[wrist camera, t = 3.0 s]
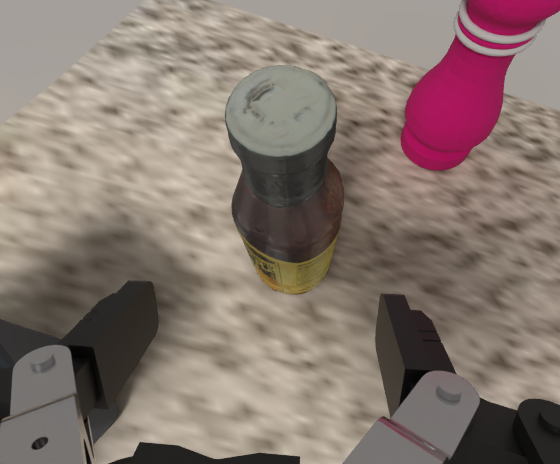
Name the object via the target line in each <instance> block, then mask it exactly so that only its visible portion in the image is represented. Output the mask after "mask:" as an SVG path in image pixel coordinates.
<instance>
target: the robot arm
mask: <svg viewBox="0 0 560 464" xmlns="http://www.w3.org/2000/svg"><path fill="white" fill-rule="evenodd" d="M157 329H158V312H157V305H156V299H155V292H154V286H153V284H152V282H150V281H131V280H130V281H128V282H127V283H126V284H125V285H124V286H123V287H122V288H121V289H120V290H119V291H118V292H117V293H116V294H115V293H113V294H111V295H109V296H108V297H106V298H104V299H103V300H101V301H99V302H98V303H97V304H96V305H95V306H94V307H93V308H92V310H91V312H89V313H88V314H87V315H86V316H85V317H84V318H83V320H81V321H80V322H79V323H78V324H77V325H76V326H75V327H74V328H73V329H72V330H71V331H70V332H69V333H68V334H67V335H66V336H65V337H64V338H63V339H62V340H61V341H60V342H59V343H58V344H57V345H50V346H45V347H41V348H38V349H36V350H34V351H32V352H30V353H28V354H26V355H25V356H23V357H22V358H21V359H20V360H19V361H18V362H17V363H16V364H15V366H14V367H10V368H4V369H0V464H97V463H96V457H95V451H94V445H93V439H92V434H91V428H90V422H89V418H88V415H89V413H90V412H91V410H92V409H93V408H95V409H107V410H108V409H109V408H110V406H111V405H112V403H113V401H114V400H115V398H116V397H117V395H118V393H119V392H120V390H121V389H122V387H123V386H124V384H125V382H126V381H127V379H128V378H129V376H130V374H131V373H132V371H133V370H134V368H135V367H136V365H137V363H138V362H139V360H140V359H141V357H142V355H143V354H144V352H145V351H146V349H147V348H148V346H149V344H150V343H151V341H152V340H153V338H154V337H155V335H156V332H157ZM375 342H376V351H377V356H378V361H379V365H380V370H381V375H382V380H383V384H384V389H385V394H386V398H387V403H388V408H389V413H390V417H391V418H390V419H387V418H386V417H384V416H383V417H380V418H379V419H378V420H377V421H376V422H375V424H374V425H373V426H372V427H371V429H370V430H369V431H368V432H367V434H366V435H365V436H364V437H363V439H362V440H361V441H360V442H359V444H358V445H357V446H356V447H355V449H354V450H353V451H352V452H351V454H350V455H349V456H348V457H347V459H346V460H345V461H344V462H343V464H560V405H558V404H555V403H553V402H550V401H546V400H542V399H528V400H525V401H523V402H521V404H520V405H519V407H518V410H514V409H510V408H507V407H504V406H501V405H497V404H494V403H491V402H488V401H486V400H484V399H482V398H480V397H479V395H478V392H477V391H476V389H475V388H474V387H473V386H472V384H470V383H469V382H468V381H467V380H465V379H464V378H462V377H460V376H458V375H457V374H456V372H455V370H454V368H453V365H452V363H451V361H450V359H449V357H448V355H447V353H446V350H445V348H444V346H443V344H442V343H441V340H440V338H439V335H438V334H437V331H436V329H435V327H434V325H433V323H432V320H430V319H429V318H428V317H427V316H426V315H425V314H424V313H423V312H422V311H419V310H410V308H409V305H408V303H407V300H406V298H405V296H404V295H398V294H381V296H380V301H379V309H378V317H377V325H376V336H375ZM109 464H300V457H299V456H288V455H277V454H266V453H256V454H249V455H243V456H236V457H230V458H224V459H212V458H210V457H207V456H204V455H202V454H199V453H196V452H194V451H191V450H188V449H186V448H183V447H180V446H177V445H166V444H155V443H144V442H140V443H139V445H138V447H137V449H136V451H135V453H134V455H133V456H132V457H127V458H124V459H120V460H117V461H114V462H112V463H109Z"/></svg>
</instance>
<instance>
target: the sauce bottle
mask: <svg viewBox="0 0 560 464" xmlns="http://www.w3.org/2000/svg"><path fill="white" fill-rule="evenodd" d="M336 121H337V105H336V100H335V97H334V95H333V93H332V92H331V90H330V88H329V87H328V85H327V83H326V82H325V81H324V80H323V79H322V78H321V77H319V76H318V75H317V74H315V73H313V72H312V71H309V70H304V69H301V68H299V67H296V66H291V65H277V66H270V67H265V68H262V69H260V70H257V71H255V72H253V73H251V74H250V75H248V76H246V77H245V78H244V79H243V80H242V81H241V82H240V83H239V84H238V85H237V86H236V87H235V89H234V90H233V92H232V94H231V95H230V97H229V99H228V102H227V105H226V110H225V122H226V127H227V130H228V135H229V139H230V143H231V146H232V149H233V150H234V152H235V153H236V155H237V156H238V157H239V158H240V161H241V163H242V173H241V175H240V178H239V181H238V184H237V186H236V189H235V192H234V195H233V198H232V215H233V219H234V222H235V224H236V227H237V229H238V232H239V234H240V236H241V238H242V240H243V242H244V245H245V247H246V249H247V251H248V253H249V256H250V258H251V260H252V262H253V264H254V266H255V269H256V271H257V273H258V275H259V276H260V278H261V279H262V281H263V282H264V283H265V284H267V285H268V286H269V287H271V288H272V289H273V290H275V291H279V292H282V293H285V294H303V293H306V292H307V291H309V290H311V289H312V288H314V287H316V286H317V285H318V284H319V283H320V282H321V281H322V280H323V278H324V277H325V275H326V274H327V272H328V269H329V266H330V262H331V259H332V255H333V251H334V248H335V244H336V240H337V236H338V233H339V229H340V225H341V219H342V210H343V205H344V187H343V184H342V179H341V177H340V173H339V171H338V170H337V168H336V167H335V166H334V164H333V163H332V162H331V161H330V160H329V159H328V158H327V153H328V151H329V149H330V147H331V145H332V143H333V141H334V137H335V133H336Z"/></svg>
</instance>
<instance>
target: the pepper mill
mask: <svg viewBox="0 0 560 464" xmlns="http://www.w3.org/2000/svg"><path fill="white" fill-rule="evenodd" d="M558 11H560V0H462V1H461V4H460V6H459V11H458V12H457V14H456V16H455V19H454V30H455V33H456V35H455V39H454V41H453V42H452V44H451V46H450V48H449V50H448V52H447V54H446V55H445V56H444V58H443V59H442V60H441V62H440V63H439V64H437V65H436V66H435V67H434V68H433V69H431V70H430V71H429V72H428V73H426V74H425V75H424V76H423V77H422V78H421V80H420V81H419V82H418V83H417V84H416V86H415V87H414V89H413V90H412V92H411V94H410V96H409V99H408V101H407V104H406V108H405V117H406V123H405V126H404V128H403V131H402V134H401V146H402V149H403V151H404V153H405V154H406V156H407V157H408V158H409V159H410V160H411V161H412V162H414V163H415V164H417V165H419V166H420V167H423V168H426V169H430V170H446V169H451V168H453V167H455V166H457V165H459V164H460V163H461V162H463V161H464V159H465V158H466V157H467V155H468V154H469V152H470V151H471V149H472V148H473V147H474V146H477V145H478V144H480V143H481V142H483V141H484V140H485V139H486V138H487V137H488V136H489V134H490V133H491V131H492V130H493V128H494V126H495V124H496V123H497V121H498V118H499V115H500V112H501V108H502V103H503V90H504V80H505V75H506V72H507V69H508V67H509V65H510V63H511V61H512V59H513V57H514V56H515V54H517V53H520V52H521V51H523V50H525V49H527V48H528V47H529V46H530V45H531V44H532V43H533V42H534V40H535V38H536V36H537V34H538V33H539V32H540V31H541V30H542V28H543V26H544V24H545V21H546V18H548V17H550V16H552V15H554V14H555V13H557V12H558Z"/></svg>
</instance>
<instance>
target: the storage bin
mask: <svg viewBox="0 0 560 464" xmlns="http://www.w3.org/2000/svg"><path fill="white" fill-rule="evenodd" d="M60 341H61V339H58V338H55V337H52V336H49V335H46V334H43V333H40V332H37V331H34V330H31V329H28V328H25V327H22V326H18V325H15V324H12V323H9V322H6V321H3V320H0V369H4V368H10V367H14V366H15V364H16V363H17V362H18V361H19V360H20V359H21V358H22V357H23V356H25V355H26V354H28V353H30V352H32V351H34V350H36V349H38V348H41V347H45V346H50V345H57V344H58V343H59V342H60ZM116 417H117V406H116V404H115V403H114V402H113V403H112V405H111V406H110V408H109V409H108V410H107V409H95V408H93V409H92V410H91V412H90V413H89V415H88V418H89V422H90V428H91V434H92V439H93V444H94V443H95V442H96V441H97V440H98V439H99V438H100V437H101V436H102V435H103V434H104V432H105V431H106V430H107V429H108V428H109V427H110V426H111V425H112V424H113V423H114V421H115V419H116Z"/></svg>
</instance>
